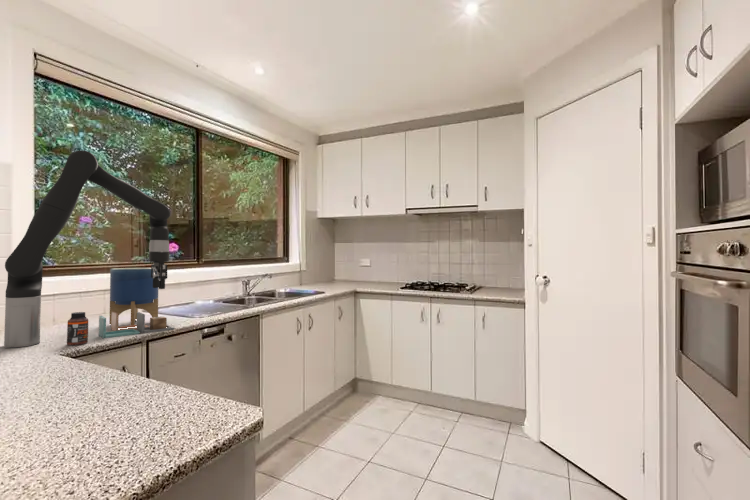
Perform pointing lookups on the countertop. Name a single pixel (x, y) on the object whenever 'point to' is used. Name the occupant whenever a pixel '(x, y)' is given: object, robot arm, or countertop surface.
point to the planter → (132, 292)
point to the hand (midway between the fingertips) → (158, 288)
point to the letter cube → (158, 323)
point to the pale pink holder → (115, 323)
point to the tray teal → (113, 333)
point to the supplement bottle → (77, 329)
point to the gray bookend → (143, 329)
